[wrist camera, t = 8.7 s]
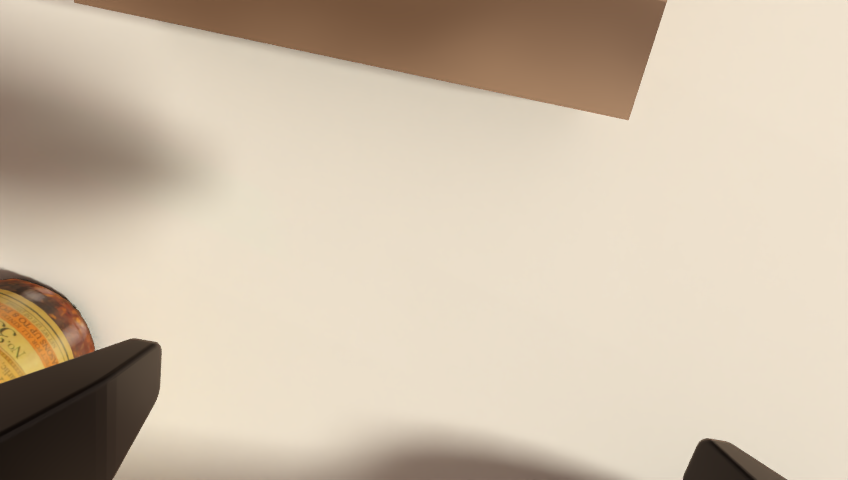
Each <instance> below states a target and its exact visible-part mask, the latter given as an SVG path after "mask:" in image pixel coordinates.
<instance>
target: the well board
mask: <svg viewBox="0 0 848 480" xmlns="http://www.w3.org/2000/svg"><path fill="white" fill-rule="evenodd" d="M74 2H75V3H79V4H84V5H89V6H93V7H98V8H103V9H107V10H112V11H117V12H122V13H126V14H131V15H136V16H140V17H145V18H150V19H155V20H159V21H164V22H169V23H173V24H178V25H183V26H188V27H192V28H197V29H202V30H206V31H211V32H216V33H220V34H225V35H230V36H235V37H239V38H244V39H249V40H253V41H258V42H263V43H268V44H272V45H277V46H282V47H286V48H291V49H296V50H300V51H305V52H310V53H315V54H319V55H324V56H329V57H333V58H338V59H343V60H348V61H352V62H357V63H362V64H366V65H371V66H376V67H381V68H385V69H390V70H395V71H399V72H404V73H409V74H413V75H418V76H423V77H428V78H432V79H437V80H442V81H446V82H451V83H456V84H461V85H465V86H470V87H475V88H479V89H484V90H489V91H494V92H498V93H503V94H508V95H512V96H517V97H522V98H526V99H531V100H536V101H541V102H545V103H550V104H555V105H559V106H564V107H569V108H574V109H578V110H583V111H588V112H592V113H597V114H602V115H606V116H611V117H616V118H621V119H625V120H629V117H630V114H631V111H632V108H633V105H634V101H635V98H636V95H637V92H638V89H639V86H640V83H641V80H642V77H643V74H644V70H645V67H646V64H647V61H648V58H649V55H650V52H651V49H652V46H653V43H654V40H655V36H656V33H657V30H658V27H659V24H660V21H661V18H662V15H663V12H664V9H665V5H666V2H667V0H74Z"/></svg>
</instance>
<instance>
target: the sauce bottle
mask: <svg viewBox="0 0 848 480" xmlns="http://www.w3.org/2000/svg"><path fill="white" fill-rule="evenodd" d="M94 351H95V347H94V343H93V340H92V337H91V334H90V331H89V328H88V327H87V324H86V322H85V321H84V319H83V318H82V317H81V314H80V312H79V311H78V310H77V309H75V308H73V306H72V304H71V302H70V301H68V300H66V299H64V298H62V297H61V296H60V295H59V294H57V293H55V292H53V291H51V290H49V289H48V288H45V287H43V286H40V285H38V284H35V283H31V282H29V281H26V280H21V279H4V280H0V383H3V382H6V381H9V380H12V379H15V378H18V377H21V376H24V375H27V374H30V373H32V372H35V371H38V370H41V369H44V368H47V367H50V366H53V365H56V364H59V363H62V362H65V361H67V360H70V359H73V358H76V357H79V356H82V355H85V354H88V353H91V352H94Z"/></svg>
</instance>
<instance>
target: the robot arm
mask: <svg viewBox="0 0 848 480" xmlns="http://www.w3.org/2000/svg"><path fill="white" fill-rule="evenodd" d="M161 355H162V351H161V346H160V345H159V344H158V343H157V342H153V341H147V340H142V339H136V338H133V339H129V340H126V341H123V342H120V343H117V344H114V345H111V346H108V347H105V348H102V349H100V350H97V351H94V352H91V353H88V354H85V355H82V356H79V357H76V358H73V359H70V360H67V361H65V362H62V363H59V364H56V365H53V366H50V367H47V368H44V369H41V370H38V371H35V372H32V373H30V374H27V375H24V376H21V377H18V378H15V379H12V380H9V381H6V382H3V383H0V480H112V479H113V478H114V476H115V474H116V473H117V471H118V469H119V467H120V465H121V464H122V462H123V460H124V458H125V456H126V455H127V453H128V451H129V449H130V447H131V445H132V444H133V442H134V440H135V438H136V436H137V435H138V433H139V431H140V429H141V427H142V426H143V424H144V422H145V420H146V418H147V417H148V415H149V413H150V411H151V409H152V408H153V406H154V404H155V402H156V400H157V397H158V394H159V390H160V377H161ZM683 480H787V479H785V478H784V477H782V476H781V475H779V474H778V473H776V472H775V471H773V470H771V469H770V468H768V467H767V466H765V465H764V464H762V463H761V462H759V461H758V460H756V459H754V458H753V457H751V456H750V455H748V454H747V453H745V452H744V451H742V450H741V449H739V448H738V447H736V446H734V445H733V444H731V443H729V442H726V441H721V440H715V439H709V438H706V439H703V440H701V441H700V442H699V443H698V445H697V447H696V449H695V451H694V454H693V456H692V458H691V460H690V462H689V465H688V467H687V469H686V471H685V473H684V476H683Z"/></svg>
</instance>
